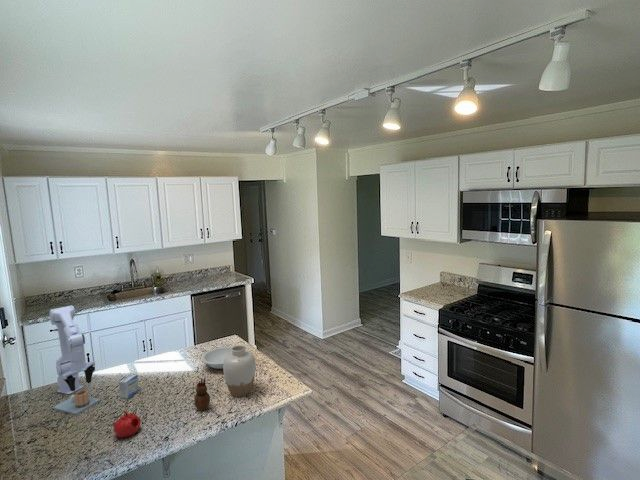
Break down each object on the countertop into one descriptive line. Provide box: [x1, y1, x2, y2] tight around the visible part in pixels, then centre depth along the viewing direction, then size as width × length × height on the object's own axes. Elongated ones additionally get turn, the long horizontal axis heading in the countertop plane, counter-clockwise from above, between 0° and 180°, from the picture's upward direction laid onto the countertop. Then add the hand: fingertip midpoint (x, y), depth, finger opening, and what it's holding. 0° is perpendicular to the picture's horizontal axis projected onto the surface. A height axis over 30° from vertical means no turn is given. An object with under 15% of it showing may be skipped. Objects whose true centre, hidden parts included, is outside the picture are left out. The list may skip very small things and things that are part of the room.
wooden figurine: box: [193, 377, 211, 411], centre depth 162 cm, size 7×6×15 cm
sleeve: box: [74, 389, 90, 408], centre depth 167 cm, size 5×5×6 cm
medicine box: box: [118, 374, 140, 399], centre depth 176 cm, size 8×4×9 cm, turn 168°
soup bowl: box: [201, 345, 235, 370], centre depth 205 cm, size 24×24×7 cm
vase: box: [222, 344, 257, 398], centre depth 175 cm, size 16×16×23 cm
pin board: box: [52, 394, 101, 416], centre depth 168 cm, size 16×12×4 cm
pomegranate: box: [113, 410, 142, 438], centre depth 146 cm, size 10×10×9 cm
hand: (80, 386), depth 166 cm, fingers open, 7 cm apart
